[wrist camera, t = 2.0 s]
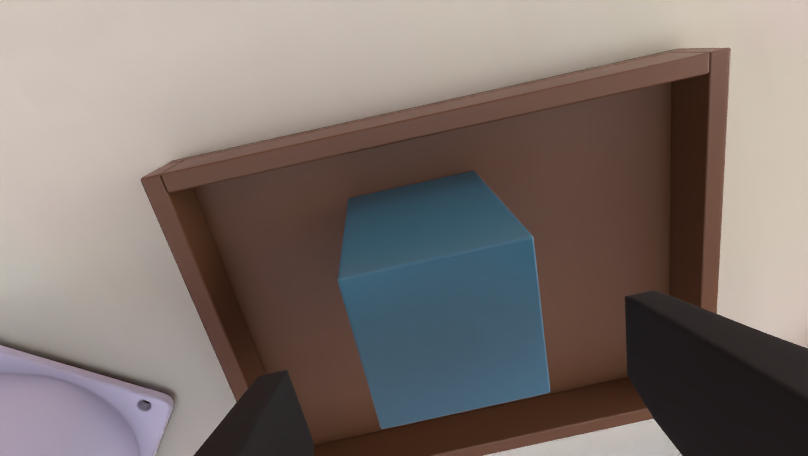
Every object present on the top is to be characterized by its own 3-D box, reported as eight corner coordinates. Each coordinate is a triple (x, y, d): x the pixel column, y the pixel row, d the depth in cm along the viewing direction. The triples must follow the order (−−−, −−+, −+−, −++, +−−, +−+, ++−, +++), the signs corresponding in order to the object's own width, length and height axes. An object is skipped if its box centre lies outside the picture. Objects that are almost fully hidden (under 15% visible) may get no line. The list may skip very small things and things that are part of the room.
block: (376, 307, 17) (381, 430, 12) (347, 197, 16) (336, 279, 10) (491, 282, 17) (551, 393, 12) (474, 170, 16) (534, 235, 10)
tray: (288, 452, 20) (278, 500, 18) (171, 160, 15) (138, 178, 13) (675, 368, 20) (712, 406, 18) (680, 48, 15) (731, 47, 13)
